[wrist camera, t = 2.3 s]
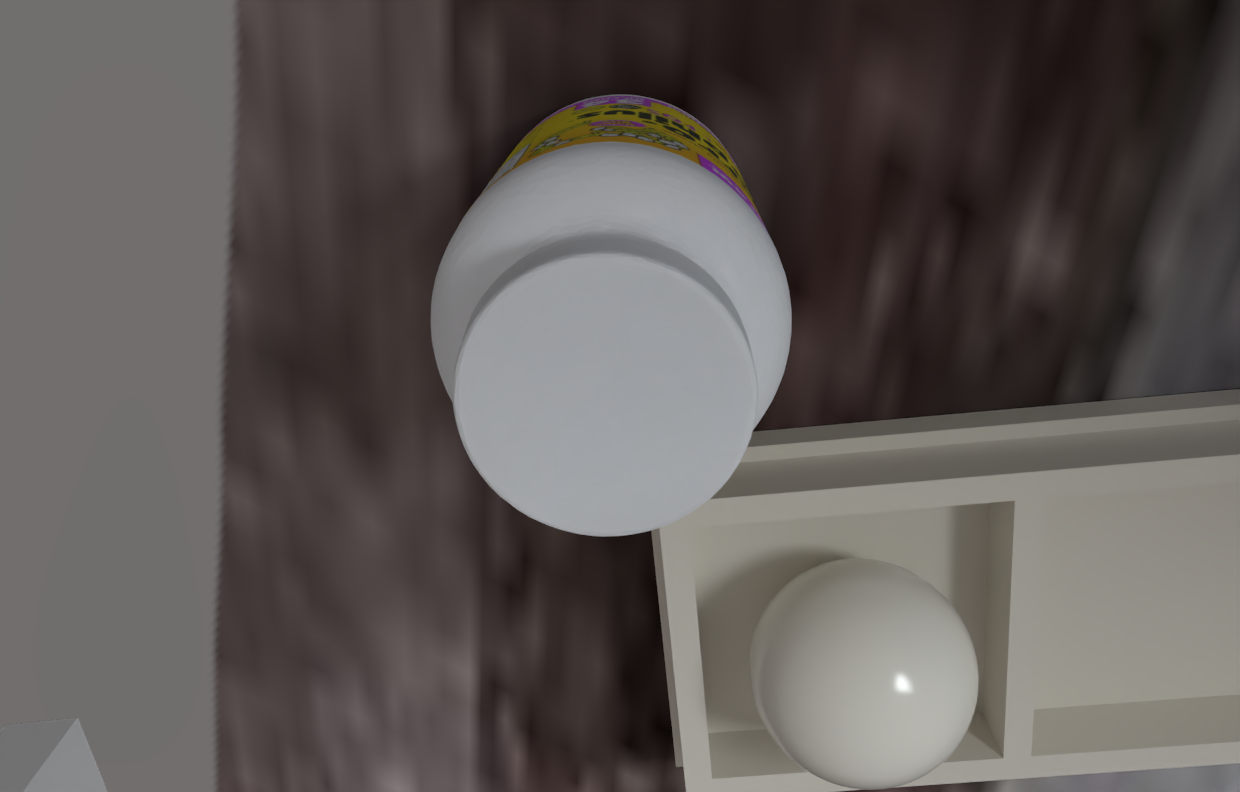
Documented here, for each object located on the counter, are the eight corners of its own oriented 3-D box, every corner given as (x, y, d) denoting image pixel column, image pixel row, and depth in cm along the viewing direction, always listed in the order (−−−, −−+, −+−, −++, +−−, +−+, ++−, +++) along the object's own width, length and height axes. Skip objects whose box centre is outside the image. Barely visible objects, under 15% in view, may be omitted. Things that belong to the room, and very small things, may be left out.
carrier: (675, 745, 34) (678, 813, 31) (643, 441, 30) (644, 489, 27) (1303, 699, 33) (1364, 766, 30) (1360, 378, 29) (1437, 421, 26)
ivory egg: (733, 527, 30) (755, 654, 24) (944, 510, 30) (1015, 634, 24) (745, 697, 32) (768, 849, 27) (942, 683, 32) (1006, 833, 26)
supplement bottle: (797, 184, 27) (921, 352, 15) (653, 381, 29) (665, 661, 18) (581, 34, 26) (535, 91, 14) (447, 251, 28) (309, 460, 16)
